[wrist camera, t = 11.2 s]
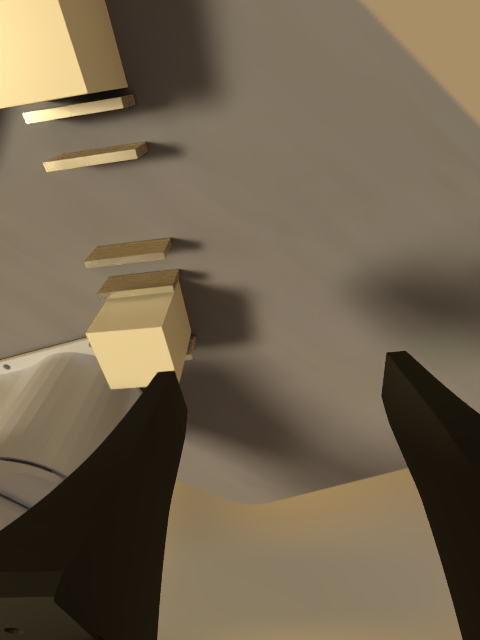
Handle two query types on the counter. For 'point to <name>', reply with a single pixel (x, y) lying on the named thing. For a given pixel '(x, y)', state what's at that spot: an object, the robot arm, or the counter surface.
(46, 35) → the block
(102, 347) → the beige small block
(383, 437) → the counter surface
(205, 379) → the counter surface
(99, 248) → the clip holder
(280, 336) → the counter surface
